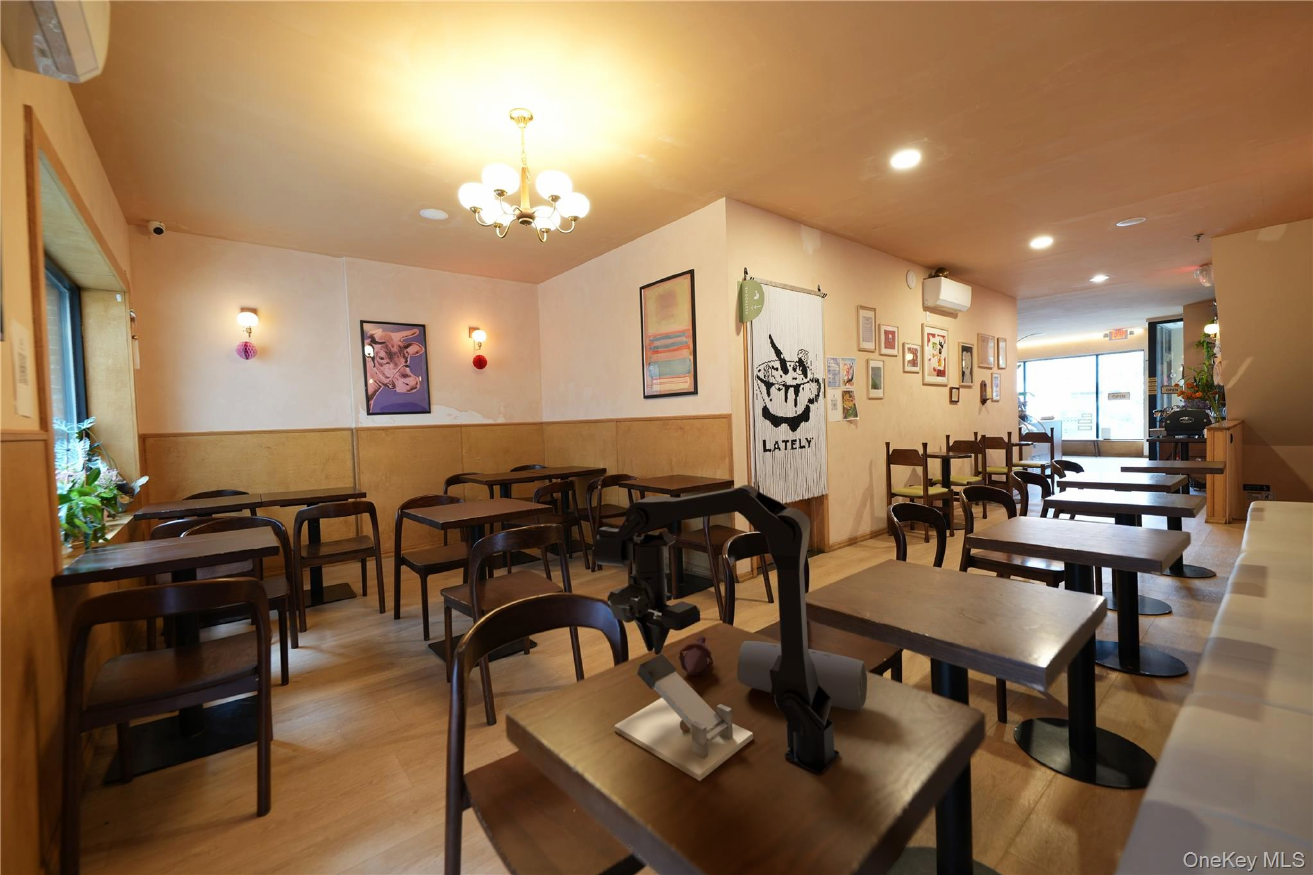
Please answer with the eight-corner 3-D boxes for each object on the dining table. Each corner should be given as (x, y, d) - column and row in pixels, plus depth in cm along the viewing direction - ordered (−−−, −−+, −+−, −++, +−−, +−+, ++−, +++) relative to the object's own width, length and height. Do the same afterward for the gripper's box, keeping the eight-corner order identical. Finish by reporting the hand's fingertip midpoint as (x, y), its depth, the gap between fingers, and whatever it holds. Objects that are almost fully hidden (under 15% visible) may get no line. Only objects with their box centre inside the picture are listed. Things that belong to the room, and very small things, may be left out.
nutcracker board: (753, 738, 93) (751, 704, 93) (699, 780, 83) (697, 743, 83) (668, 698, 107) (667, 669, 107) (614, 730, 98) (612, 698, 97)
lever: (725, 732, 92) (729, 722, 91) (703, 747, 88) (707, 738, 87) (658, 662, 102) (661, 653, 102) (637, 673, 98) (640, 664, 98)
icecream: (711, 661, 108) (720, 636, 123) (676, 650, 110) (689, 627, 125) (704, 695, 109) (713, 666, 123) (668, 683, 110) (682, 656, 125)
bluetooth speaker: (868, 701, 103) (866, 649, 102) (860, 727, 95) (858, 671, 94) (753, 677, 114) (751, 630, 114) (737, 698, 106) (734, 648, 106)
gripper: (582, 569, 99) (587, 653, 100) (654, 590, 86) (659, 686, 87) (627, 555, 107) (632, 633, 108) (700, 572, 94) (704, 661, 94)
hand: (654, 652), depth 99 cm, fingers closed
